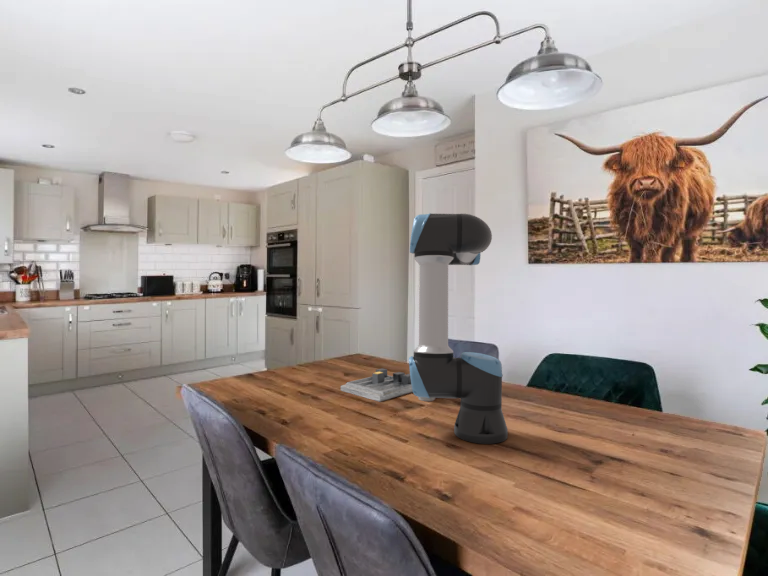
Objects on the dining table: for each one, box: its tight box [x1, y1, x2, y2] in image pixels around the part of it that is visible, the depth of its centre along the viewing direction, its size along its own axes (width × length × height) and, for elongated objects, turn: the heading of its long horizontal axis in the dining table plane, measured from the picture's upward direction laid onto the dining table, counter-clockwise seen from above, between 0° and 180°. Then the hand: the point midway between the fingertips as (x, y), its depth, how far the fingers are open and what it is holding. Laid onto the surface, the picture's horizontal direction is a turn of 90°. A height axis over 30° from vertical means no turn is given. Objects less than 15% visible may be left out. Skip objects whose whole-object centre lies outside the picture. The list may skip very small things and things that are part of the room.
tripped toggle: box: [371, 371, 384, 384], centre depth 177 cm, size 4×3×4 cm
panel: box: [340, 367, 413, 402], centre depth 175 cm, size 26×22×6 cm
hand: (430, 330), depth 179 cm, fingers open, 13 cm apart
